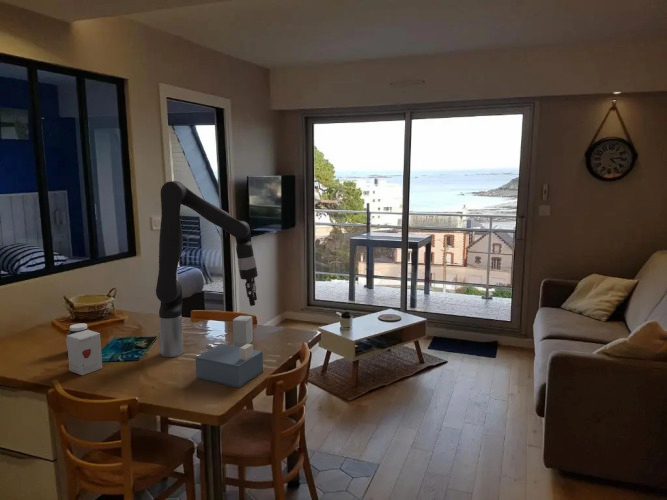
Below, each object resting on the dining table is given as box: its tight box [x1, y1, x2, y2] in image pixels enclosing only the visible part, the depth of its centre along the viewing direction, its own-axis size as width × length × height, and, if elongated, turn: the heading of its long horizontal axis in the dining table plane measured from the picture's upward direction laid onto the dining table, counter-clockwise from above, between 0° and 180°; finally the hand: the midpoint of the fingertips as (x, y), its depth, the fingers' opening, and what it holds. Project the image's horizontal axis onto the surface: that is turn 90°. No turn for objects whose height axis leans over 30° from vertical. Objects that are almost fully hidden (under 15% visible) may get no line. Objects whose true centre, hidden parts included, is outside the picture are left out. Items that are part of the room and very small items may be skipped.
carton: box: [195, 353, 264, 389], centre depth 186 cm, size 20×16×8 cm
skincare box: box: [232, 315, 254, 347], centre depth 210 cm, size 8×7×16 cm
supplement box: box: [66, 329, 103, 376], centre depth 190 cm, size 9×9×15 cm
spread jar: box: [65, 322, 90, 350], centre depth 209 cm, size 12×11×12 cm
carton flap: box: [194, 343, 264, 367], centre depth 185 cm, size 20×16×5 cm
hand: (253, 302), depth 208 cm, fingers open, 8 cm apart
